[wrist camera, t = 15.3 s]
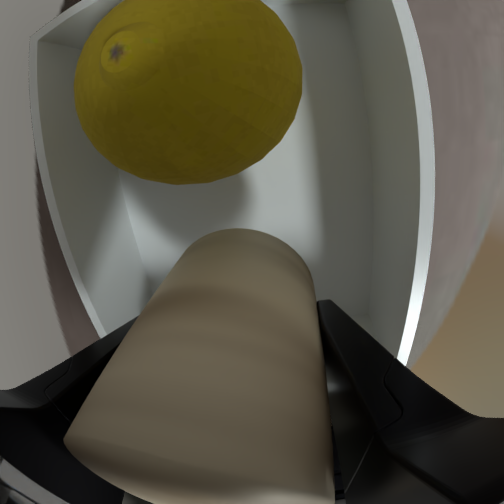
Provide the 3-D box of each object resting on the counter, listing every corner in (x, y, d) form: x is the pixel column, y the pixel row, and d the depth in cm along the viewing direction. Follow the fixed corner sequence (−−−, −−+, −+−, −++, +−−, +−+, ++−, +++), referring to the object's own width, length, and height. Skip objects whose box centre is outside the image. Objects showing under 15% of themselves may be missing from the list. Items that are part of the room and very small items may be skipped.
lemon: (152, 59, 9) (9, 15, 2) (281, 28, 8) (276, -103, 1) (175, 174, 11) (41, 254, 4) (304, 153, 11) (356, 205, 3)
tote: (374, 314, 14) (400, 383, 9) (163, 327, 16) (130, 389, 11) (351, 0, 8) (382, -55, 3) (98, 52, 9) (30, 37, 5)
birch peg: (299, 354, 11) (297, 525, 4) (177, 336, 11) (111, 489, 5) (328, 239, 8) (391, 471, 2) (171, 219, 9) (15, 387, 2)
